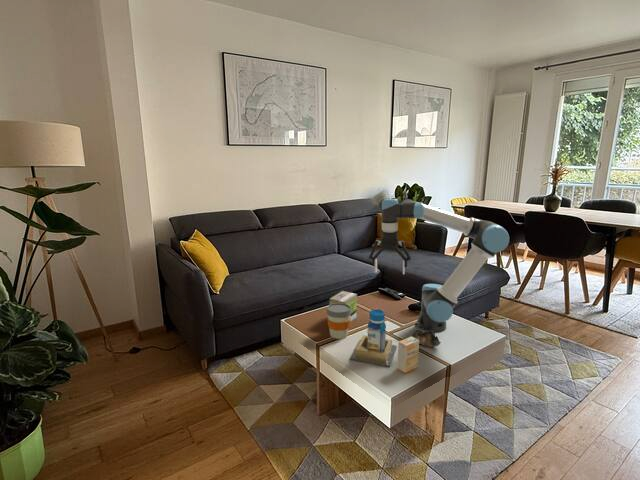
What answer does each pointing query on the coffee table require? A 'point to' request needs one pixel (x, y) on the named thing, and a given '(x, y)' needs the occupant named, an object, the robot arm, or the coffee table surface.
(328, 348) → the coffee table surface
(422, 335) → the bison figurine
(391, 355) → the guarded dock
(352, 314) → the tea box
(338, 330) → the reusable coffee cup
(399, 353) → the supplement box
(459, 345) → the coffee table surface
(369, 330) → the beverage bottle
